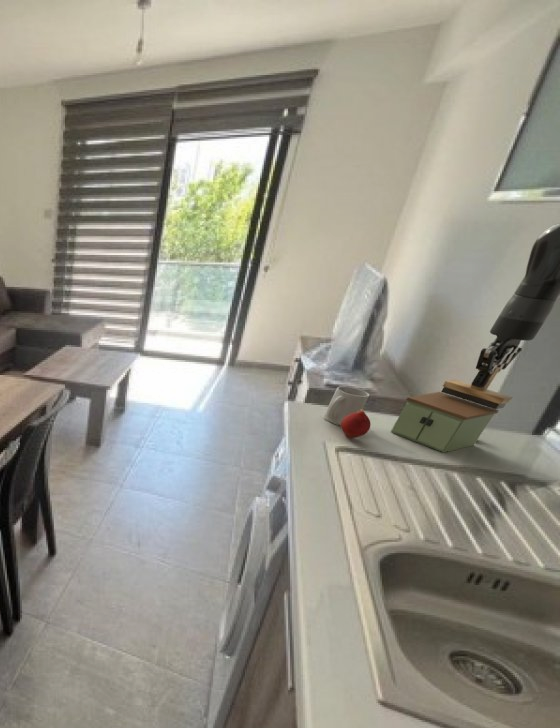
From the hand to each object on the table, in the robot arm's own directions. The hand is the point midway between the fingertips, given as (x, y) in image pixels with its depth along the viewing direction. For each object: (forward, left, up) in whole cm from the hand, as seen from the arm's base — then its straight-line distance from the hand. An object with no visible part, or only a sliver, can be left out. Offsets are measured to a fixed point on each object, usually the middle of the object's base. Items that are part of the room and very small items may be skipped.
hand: (479, 385), depth 120 cm
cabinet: (+1, +6, -15) cm, 16 cm away
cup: (+16, +22, -15) cm, 31 cm away
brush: (0, 0, -4) cm, 4 cm away
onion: (+8, +29, -15) cm, 33 cm away
